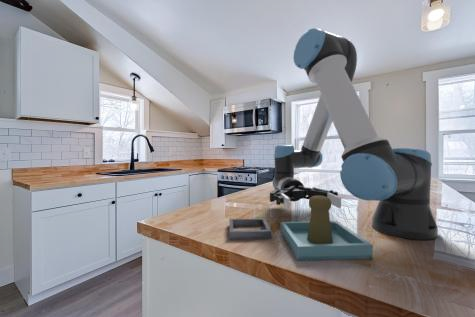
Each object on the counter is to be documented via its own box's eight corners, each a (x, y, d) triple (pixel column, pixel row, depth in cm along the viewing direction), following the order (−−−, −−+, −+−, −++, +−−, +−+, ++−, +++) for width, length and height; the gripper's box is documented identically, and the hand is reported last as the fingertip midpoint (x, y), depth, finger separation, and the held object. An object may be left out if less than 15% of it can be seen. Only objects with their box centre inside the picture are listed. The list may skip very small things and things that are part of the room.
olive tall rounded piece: (335, 246, 52) (335, 199, 52) (308, 244, 53) (308, 198, 53) (330, 236, 58) (330, 194, 58) (305, 234, 59) (305, 193, 59)
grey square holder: (264, 224, 70) (264, 218, 70) (271, 238, 59) (271, 231, 59) (229, 225, 69) (229, 219, 69) (229, 239, 58) (229, 232, 58)
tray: (336, 231, 64) (336, 220, 64) (372, 258, 48) (372, 244, 48) (280, 232, 63) (280, 222, 63) (298, 260, 47) (298, 246, 47)
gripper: (325, 198, 80) (360, 216, 59) (255, 199, 79) (266, 218, 58) (325, 177, 80) (361, 188, 59) (255, 178, 79) (266, 189, 58)
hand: (314, 203), depth 58 cm, fingers open, 13 cm apart
